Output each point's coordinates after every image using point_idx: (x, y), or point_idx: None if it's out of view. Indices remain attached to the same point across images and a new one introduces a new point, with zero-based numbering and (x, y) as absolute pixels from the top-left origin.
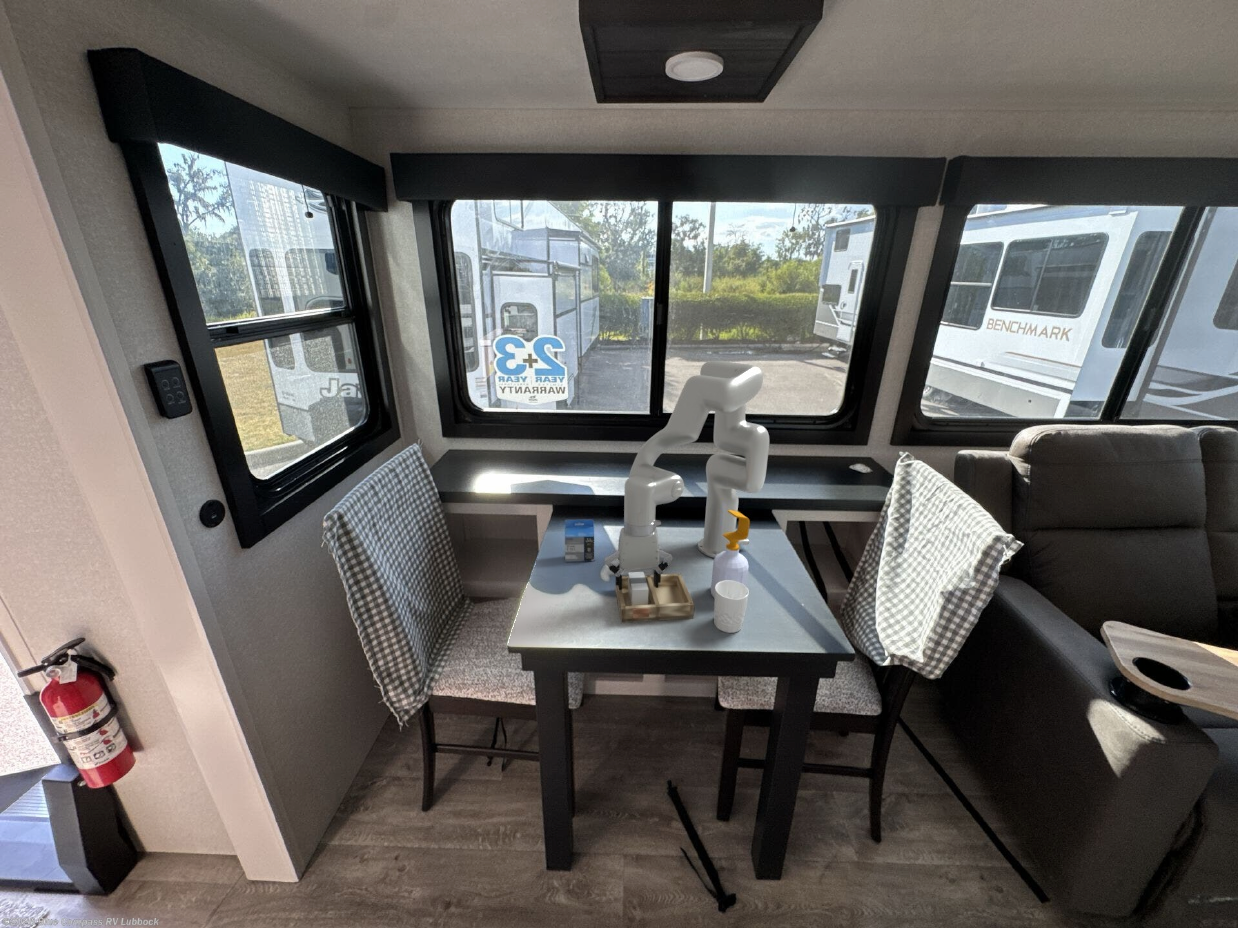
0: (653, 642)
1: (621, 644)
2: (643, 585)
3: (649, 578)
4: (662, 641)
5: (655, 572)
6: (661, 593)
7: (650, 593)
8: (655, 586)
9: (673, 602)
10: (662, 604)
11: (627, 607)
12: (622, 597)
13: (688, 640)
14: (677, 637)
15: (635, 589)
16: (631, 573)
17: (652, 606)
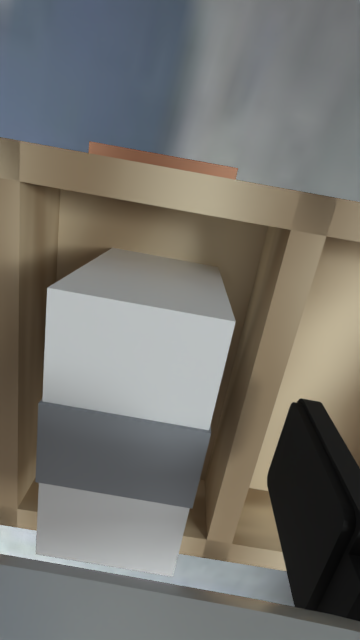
0: (143, 574)
1: (17, 553)
2: (147, 528)
3: (303, 256)
4: (179, 578)
5: (321, 585)
6: (331, 327)
7: (239, 377)
8: (268, 486)
9: (353, 423)
10: (248, 550)
11: (28, 522)
12: (10, 434)
13: (280, 598)
14: (247, 577)
15: (63, 550)
16: (81, 319)
17: (181, 548)
